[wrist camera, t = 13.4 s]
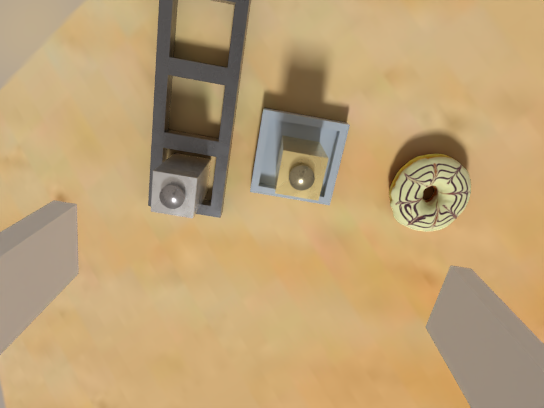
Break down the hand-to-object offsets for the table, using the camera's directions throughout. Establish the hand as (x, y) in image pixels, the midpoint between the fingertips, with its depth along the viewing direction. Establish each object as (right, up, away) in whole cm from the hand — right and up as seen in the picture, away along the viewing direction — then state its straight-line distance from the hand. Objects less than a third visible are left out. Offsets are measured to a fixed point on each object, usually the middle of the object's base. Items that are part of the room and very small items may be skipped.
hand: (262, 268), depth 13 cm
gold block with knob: (+4, +9, +35) cm, 37 cm away
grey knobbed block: (-11, +7, +37) cm, 39 cm away
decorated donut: (+22, +4, +38) cm, 44 cm away
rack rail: (-9, +15, +34) cm, 38 cm away
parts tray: (+4, +9, +36) cm, 37 cm away
